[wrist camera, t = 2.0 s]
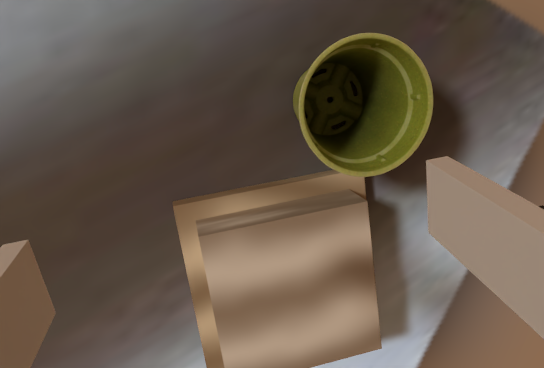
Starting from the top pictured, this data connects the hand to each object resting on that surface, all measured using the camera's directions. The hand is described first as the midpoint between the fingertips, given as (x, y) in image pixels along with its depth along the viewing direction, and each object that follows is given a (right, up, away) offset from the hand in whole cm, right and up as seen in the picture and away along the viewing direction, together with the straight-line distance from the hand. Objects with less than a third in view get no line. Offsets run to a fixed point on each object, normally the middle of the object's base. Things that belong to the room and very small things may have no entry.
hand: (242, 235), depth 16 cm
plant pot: (+6, +9, +24) cm, 26 cm away
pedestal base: (+2, -6, +26) cm, 27 cm away
